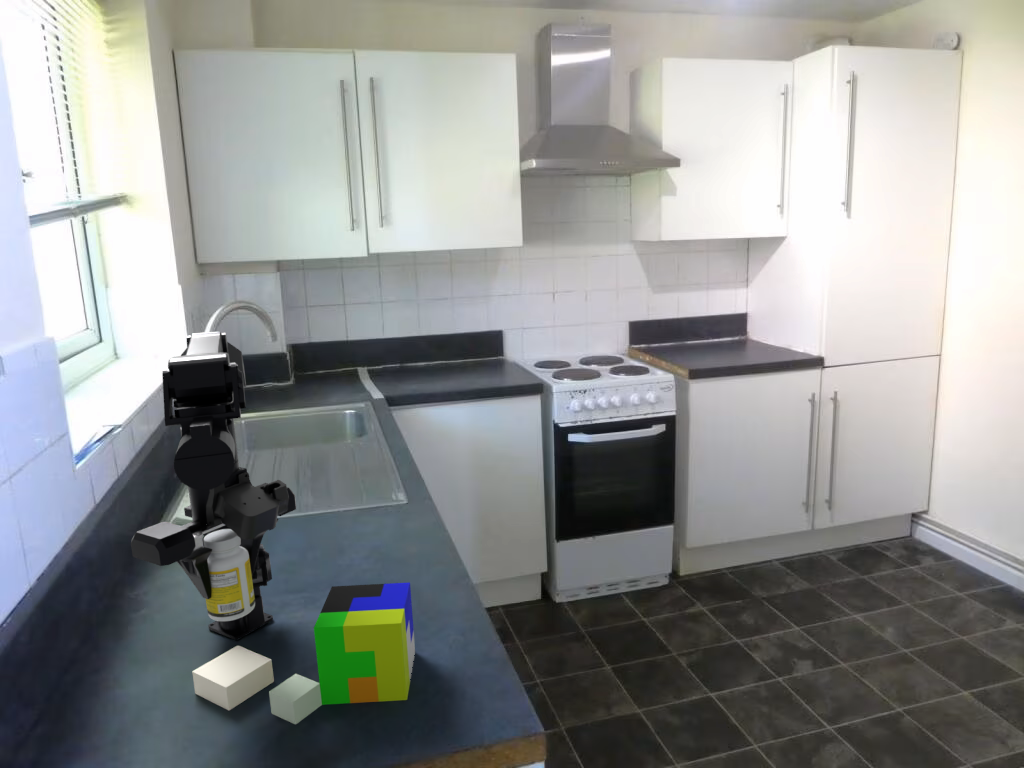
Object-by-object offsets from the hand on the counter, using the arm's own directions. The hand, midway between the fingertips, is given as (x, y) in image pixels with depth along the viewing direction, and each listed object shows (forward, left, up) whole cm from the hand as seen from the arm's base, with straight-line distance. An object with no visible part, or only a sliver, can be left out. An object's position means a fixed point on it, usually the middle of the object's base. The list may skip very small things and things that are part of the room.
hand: (228, 587), depth 87 cm
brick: (+10, 0, -13) cm, 17 cm away
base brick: (0, -1, -13) cm, 13 cm away
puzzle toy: (+13, +9, -13) cm, 21 cm away
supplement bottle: (0, 0, -3) cm, 3 cm away
